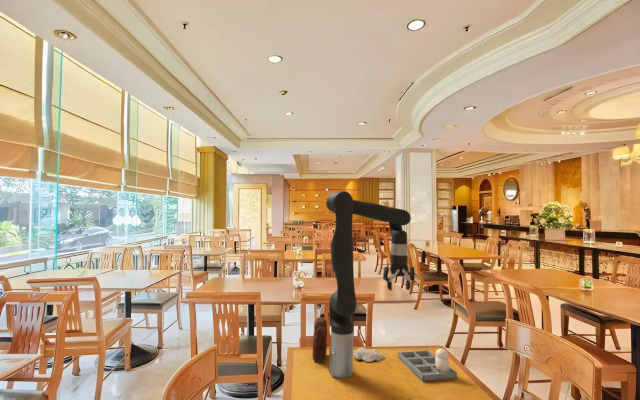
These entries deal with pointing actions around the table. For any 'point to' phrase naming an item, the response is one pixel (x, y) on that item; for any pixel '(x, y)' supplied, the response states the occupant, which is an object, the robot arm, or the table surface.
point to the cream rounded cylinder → (442, 361)
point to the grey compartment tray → (425, 366)
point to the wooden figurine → (320, 340)
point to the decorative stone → (367, 355)
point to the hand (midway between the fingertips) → (398, 289)
